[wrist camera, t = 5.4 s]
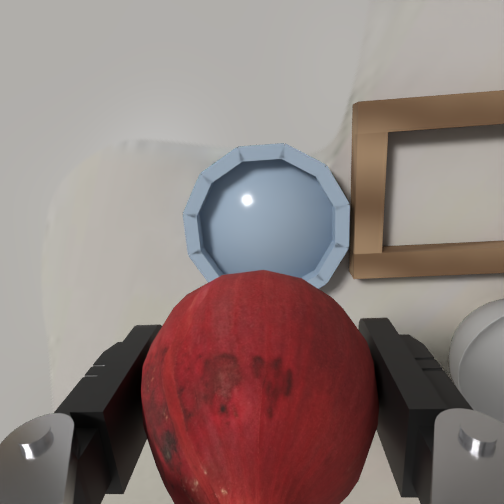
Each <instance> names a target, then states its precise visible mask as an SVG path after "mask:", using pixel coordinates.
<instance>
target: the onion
mask: <svg viewBox="0 0 504 504" xmlns="http://www.w3.org/2000/svg"><path fill="white" fill-rule="evenodd" d="M141 398H142V414H143V427H144V430H145V433H146V436H147V439H148V442H149V445H150V448H151V451H152V454H153V457H154V460H155V463H156V466H157V469H158V471H159V473H160V476H161V478H162V480H163V483H164V485H165V487H166V489H167V491H168V493H169V495H170V496H171V498H172V500H173V502H174V504H340V503H341V502H342V501H343V500H344V499H345V498H346V497H347V496H348V495H349V494H350V492H351V491H352V489H353V488H354V486H355V485H356V483H357V482H358V480H359V477H360V475H361V472H362V469H363V466H364V464H365V461H366V458H367V455H368V452H369V449H370V446H371V443H372V440H373V438H374V435H375V432H376V429H377V426H378V414H379V399H378V392H377V385H376V377H375V370H374V363H373V359H372V356H371V352H370V349H369V346H368V343H367V341H366V340H365V338H364V337H363V335H362V334H361V333H360V331H359V330H358V329H357V327H356V326H355V324H354V323H353V322H352V320H351V319H350V318H349V316H348V315H347V314H346V312H345V311H344V309H343V308H342V307H341V306H340V305H339V304H338V303H337V302H336V301H335V300H334V299H333V298H332V297H330V296H328V295H327V294H325V293H324V292H322V291H321V290H319V289H318V288H316V287H315V286H313V285H312V284H310V283H308V282H307V281H305V280H304V279H302V278H298V277H294V276H290V275H285V274H281V273H276V272H272V271H267V270H258V271H250V272H242V273H234V274H227V275H221V276H220V277H218V278H216V279H214V280H213V281H211V282H209V283H207V284H205V285H204V286H202V287H200V288H198V289H196V290H195V291H193V292H191V293H189V294H187V295H186V296H185V297H184V298H183V299H182V300H181V301H180V302H179V303H178V304H177V305H176V306H175V307H174V308H173V310H172V311H171V313H170V315H169V316H168V318H167V319H166V321H165V323H164V324H163V326H162V328H161V329H160V331H159V332H158V334H157V336H156V337H155V339H154V340H153V342H152V344H151V346H150V349H149V351H148V354H147V357H146V359H145V362H144V364H143V369H142V384H141Z"/></svg>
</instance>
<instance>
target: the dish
mask: <svg viewBox="0 0 504 504" xmlns="http://www.w3.org/2000/svg"><path fill="white" fill-rule="evenodd" d="M183 213H184V214H183V220H184V228H185V235H186V243H187V251H188V255H189V257H190V259H191V260H192V261H193V263H194V264H195V265H196V267H197V268H198V269H199V271H200V272H201V273H202V275H203V276H204V277H205V279H206V280H207V281H208V283H209V282H211V281H213V280H214V279H216V278H218V277H220V276H221V275H227V274H234V273H242V272H250V271H258V270H267V271H272V272H276V273H281V274H285V275H290V276H294V277H298V278H302V279H304V280H305V281H307V282H308V283H310V284H312V285H313V286H315V287H316V288H318V289H319V288H320V287H322V286H324V285H326V283H328V281H329V279H330V278H331V276H332V275H333V273H334V271H335V270H336V268H337V266H338V265H339V263H340V262H341V260H342V258H343V257H344V255H345V253H346V252H347V250H348V249H349V248H348V247H349V222H350V205H349V202H348V200H347V199H346V197H345V195H344V193H343V192H342V190H341V188H340V187H339V185H338V183H337V182H336V180H335V178H334V177H333V175H332V173H331V171H330V170H329V168H328V166H327V165H326V164H324V163H322V162H320V161H318V160H316V159H314V158H312V157H310V156H308V155H307V154H305V153H303V152H301V151H299V150H297V149H295V148H293V147H291V146H289V145H287V144H285V145H284V143H281V144H266V145H253V146H238V147H236V148H235V149H233V150H232V151H231V152H229V153H228V154H226V155H225V156H224V157H222V158H221V159H219V160H218V161H217V162H215V163H214V164H212V165H211V166H210V167H208V168H207V169H205V170H204V171H202V172H201V174H199V177H198V179H197V181H196V184H195V186H194V188H193V191H192V193H191V195H190V198H189V200H188V202H187V205H186V207H185V209H184V212H183ZM325 282H326V283H325Z"/></svg>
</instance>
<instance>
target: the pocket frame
mask: <svg viewBox="0 0 504 504" xmlns="http://www.w3.org/2000/svg"><path fill="white" fill-rule="evenodd" d="M496 124H504V90H501V91H489V92H476V93H463V94H451V95H438V96H426V97H413V98H400V99H388V100H375V101H362V102H357V103H355V104H353V116H352V163H351V210H350V257H349V272H350V274H351V275H352V277H353V279H366V278H391V277H416V276H440V275H465V274H490V273H504V241H487V242H466V243H444V244H423V245H402V246H382V240H383V220H384V201H385V181H386V162H387V143H388V132H399V131H413V130H426V129H440V128H454V127H468V126H482V125H496Z"/></svg>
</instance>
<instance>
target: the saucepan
mask: <svg viewBox="0 0 504 504" xmlns="http://www.w3.org/2000/svg"><path fill="white" fill-rule="evenodd" d="M449 369H450V373H451V377H452V379H453V381H454V383H455V385H456V387H457V389H458V390H459V391H460V393H461V394H462V395H463V397H464V398H465V399H466V401H467V402H468V403H469V405H470V406H471V407H472V409H473V410H474V411H477V412H481V413H483V414H486V415H488V416H490V417H492V418H494V419H496V420H498V421H499V422H501V423H503V424H504V299H499V300H496V301H493V302H489V303H487V304H485V305H483V306H480V307H479V308H477V309H476V310H474V311H473V312H471V313H470V314H469V315H468V316H467V317H465V319H464V320H463V321H462V322H461V323H460V324H459V326H458V328H457V329H456V331H455V333H454V335H453V338H452V342H451V346H450V351H449Z"/></svg>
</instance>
